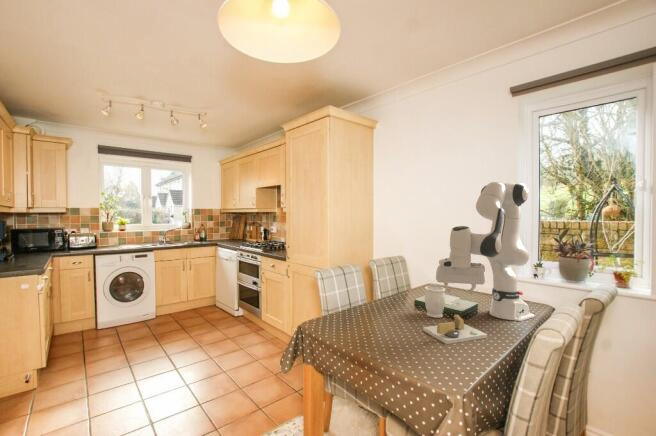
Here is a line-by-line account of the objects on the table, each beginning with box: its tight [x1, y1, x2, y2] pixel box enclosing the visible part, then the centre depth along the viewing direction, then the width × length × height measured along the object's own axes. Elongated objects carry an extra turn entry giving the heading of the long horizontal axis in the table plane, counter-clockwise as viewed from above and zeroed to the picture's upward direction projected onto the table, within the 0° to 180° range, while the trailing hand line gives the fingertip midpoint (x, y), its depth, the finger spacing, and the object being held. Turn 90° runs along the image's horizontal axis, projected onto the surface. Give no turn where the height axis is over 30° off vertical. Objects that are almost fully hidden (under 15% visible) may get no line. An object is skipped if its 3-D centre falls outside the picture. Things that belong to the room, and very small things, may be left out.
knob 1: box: [436, 321, 459, 338], centre depth 133 cm, size 10×6×6 cm, turn 109°
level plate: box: [422, 323, 488, 345], centre depth 139 cm, size 22×16×2 cm
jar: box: [424, 285, 446, 319], centre depth 164 cm, size 11×10×15 cm
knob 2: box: [453, 314, 465, 329], centre depth 141 cm, size 10×6×6 cm, turn 174°
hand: (459, 293), depth 137 cm, fingers open, 8 cm apart
